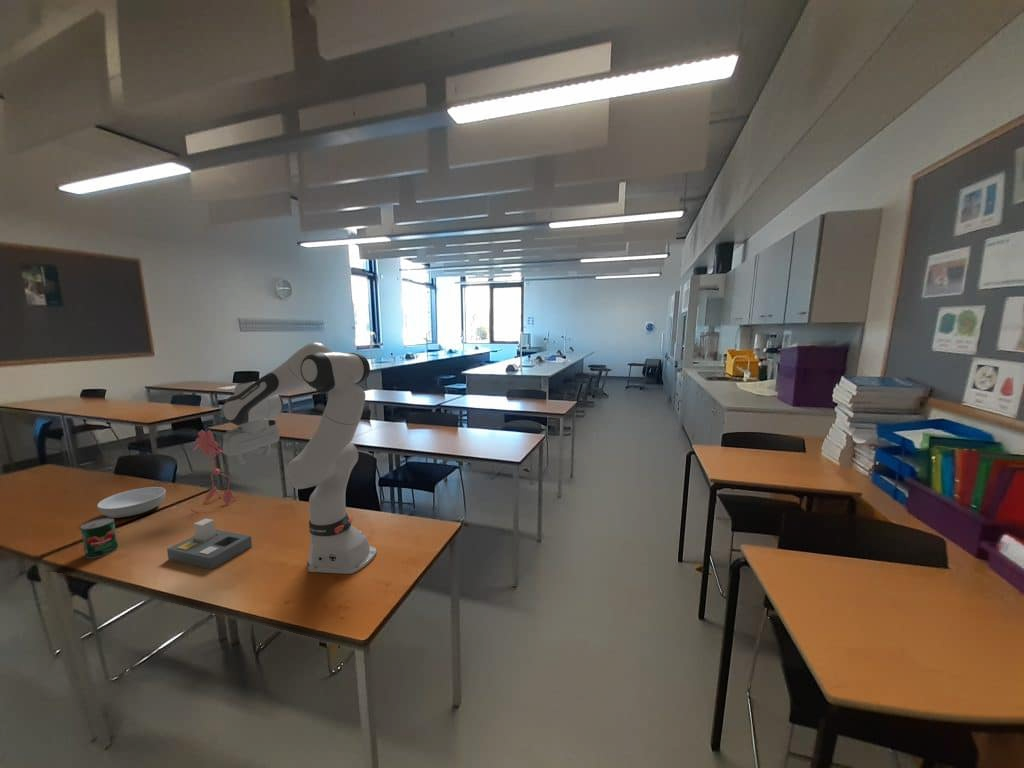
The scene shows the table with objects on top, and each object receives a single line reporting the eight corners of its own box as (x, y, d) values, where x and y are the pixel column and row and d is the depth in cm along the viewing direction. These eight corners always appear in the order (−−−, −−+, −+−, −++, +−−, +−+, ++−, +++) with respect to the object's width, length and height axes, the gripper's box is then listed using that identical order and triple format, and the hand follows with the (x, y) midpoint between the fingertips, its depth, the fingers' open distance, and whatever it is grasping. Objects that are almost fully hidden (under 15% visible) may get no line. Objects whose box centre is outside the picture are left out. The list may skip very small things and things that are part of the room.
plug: (216, 545, 136) (213, 519, 135) (205, 551, 132) (202, 525, 131) (208, 543, 137) (205, 518, 136) (197, 549, 133) (193, 523, 132)
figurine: (210, 493, 180) (201, 423, 174) (250, 501, 172) (241, 428, 166) (174, 508, 165) (161, 432, 160) (215, 517, 157) (204, 437, 152)
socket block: (252, 546, 136) (250, 535, 135) (212, 569, 122) (210, 557, 122) (211, 538, 141) (209, 527, 140) (168, 559, 128) (166, 548, 127)
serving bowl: (83, 523, 152) (81, 507, 151) (136, 500, 173) (134, 486, 172) (133, 524, 151) (131, 508, 150) (180, 501, 172) (178, 487, 171)
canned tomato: (106, 544, 137) (102, 516, 135) (124, 546, 135) (120, 518, 134) (78, 557, 129) (73, 527, 127) (97, 559, 128) (92, 529, 126)
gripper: (230, 432, 129) (234, 470, 131) (280, 419, 149) (283, 452, 150) (216, 430, 131) (220, 468, 133) (268, 418, 150) (271, 451, 152)
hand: (254, 460), depth 142 cm, fingers open, 8 cm apart
